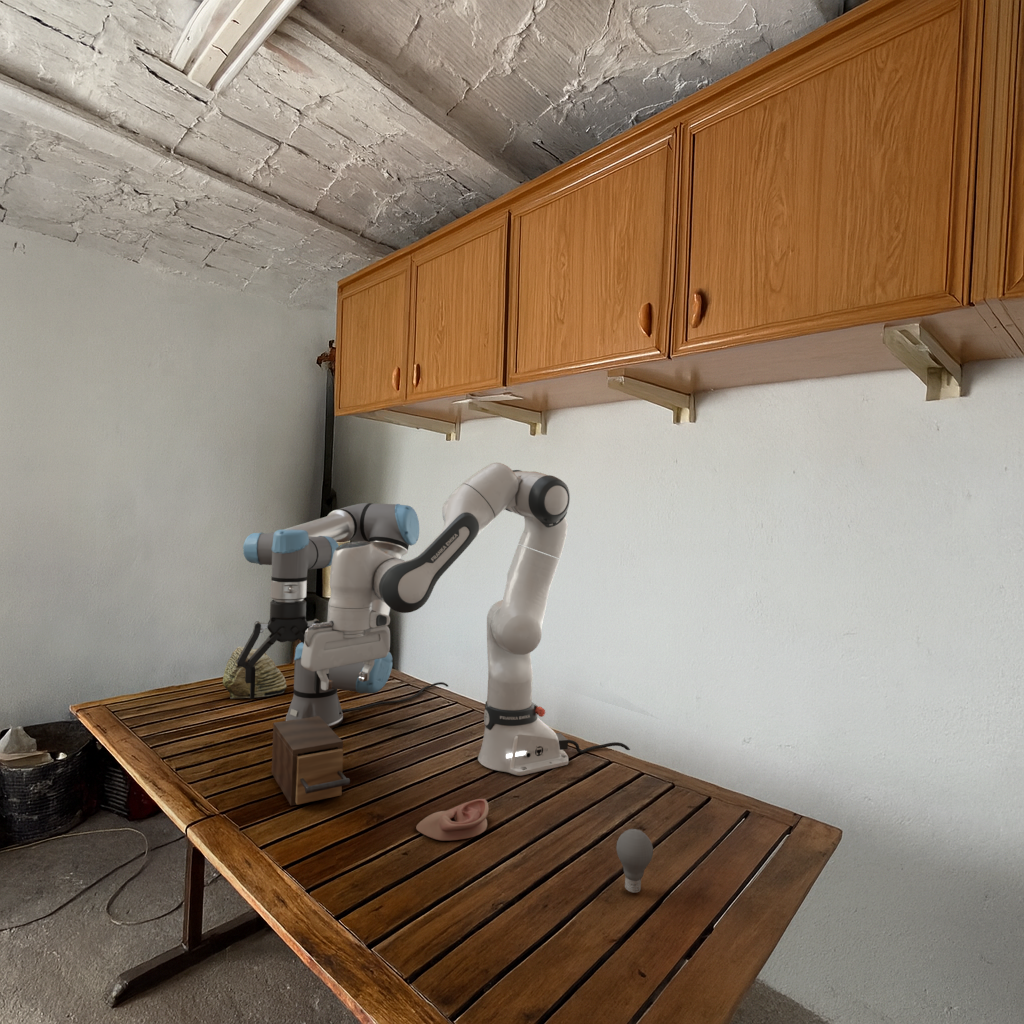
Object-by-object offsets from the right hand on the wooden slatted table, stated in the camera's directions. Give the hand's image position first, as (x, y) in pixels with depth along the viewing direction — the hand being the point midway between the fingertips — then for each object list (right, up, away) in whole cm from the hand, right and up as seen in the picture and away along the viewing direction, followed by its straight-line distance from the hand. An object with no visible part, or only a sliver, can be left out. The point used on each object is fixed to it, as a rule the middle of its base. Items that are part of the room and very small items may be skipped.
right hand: (345, 684), depth 132 cm
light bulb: (+55, -27, -27) cm, 67 cm away
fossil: (-46, -21, +66) cm, 83 cm away
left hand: (-16, -5, +9) cm, 19 cm away
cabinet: (-11, -24, +7) cm, 27 cm away
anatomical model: (+23, -26, -8) cm, 35 cm away
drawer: (-8, -23, +3) cm, 24 cm away
